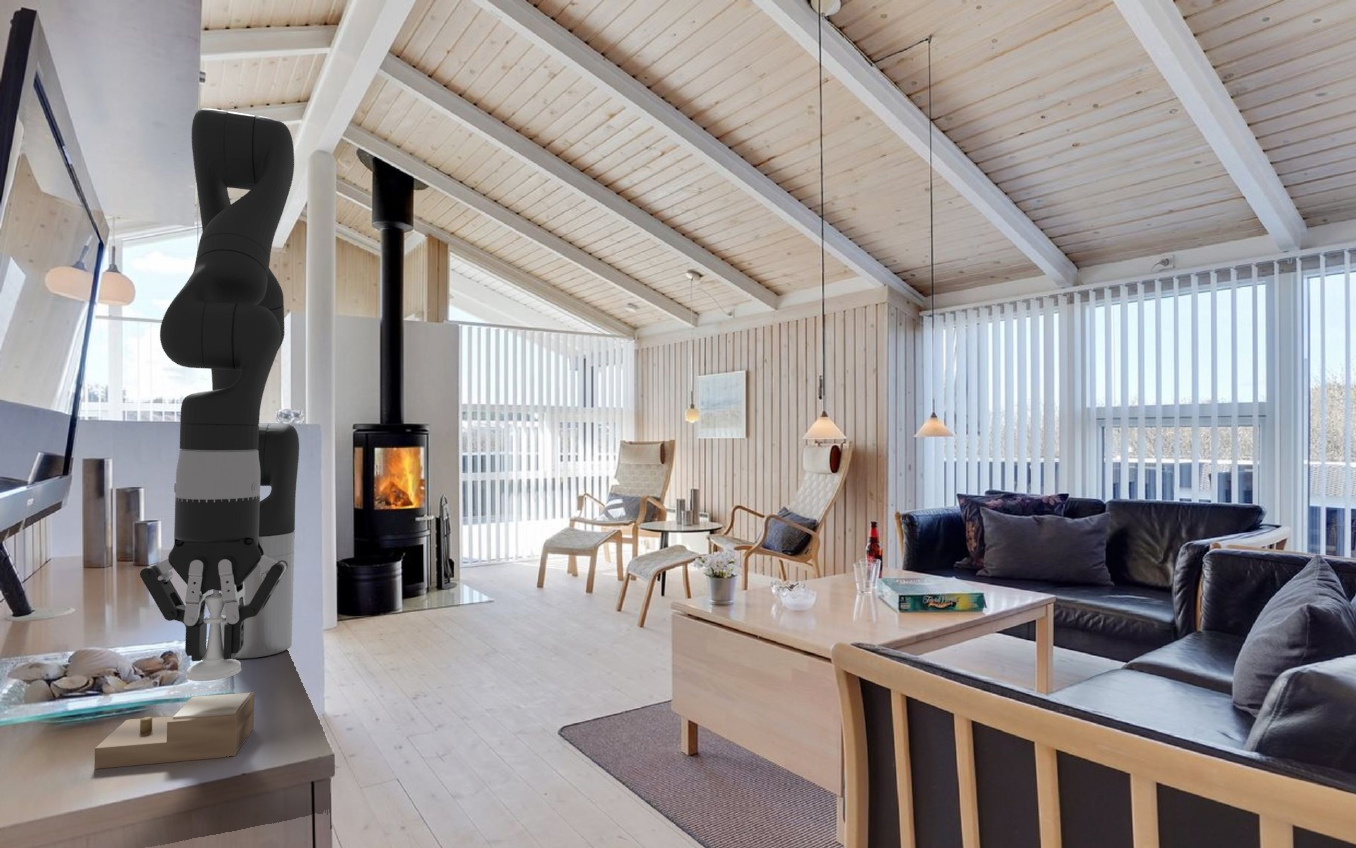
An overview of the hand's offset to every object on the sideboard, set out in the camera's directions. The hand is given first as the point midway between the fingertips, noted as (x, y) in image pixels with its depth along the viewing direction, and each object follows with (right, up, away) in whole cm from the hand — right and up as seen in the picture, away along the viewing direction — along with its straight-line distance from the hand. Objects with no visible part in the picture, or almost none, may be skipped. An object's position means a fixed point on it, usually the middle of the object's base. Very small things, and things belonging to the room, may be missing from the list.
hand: (214, 657), depth 77 cm
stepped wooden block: (-3, -9, -1) cm, 10 cm away
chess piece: (0, -2, 0) cm, 2 cm away
